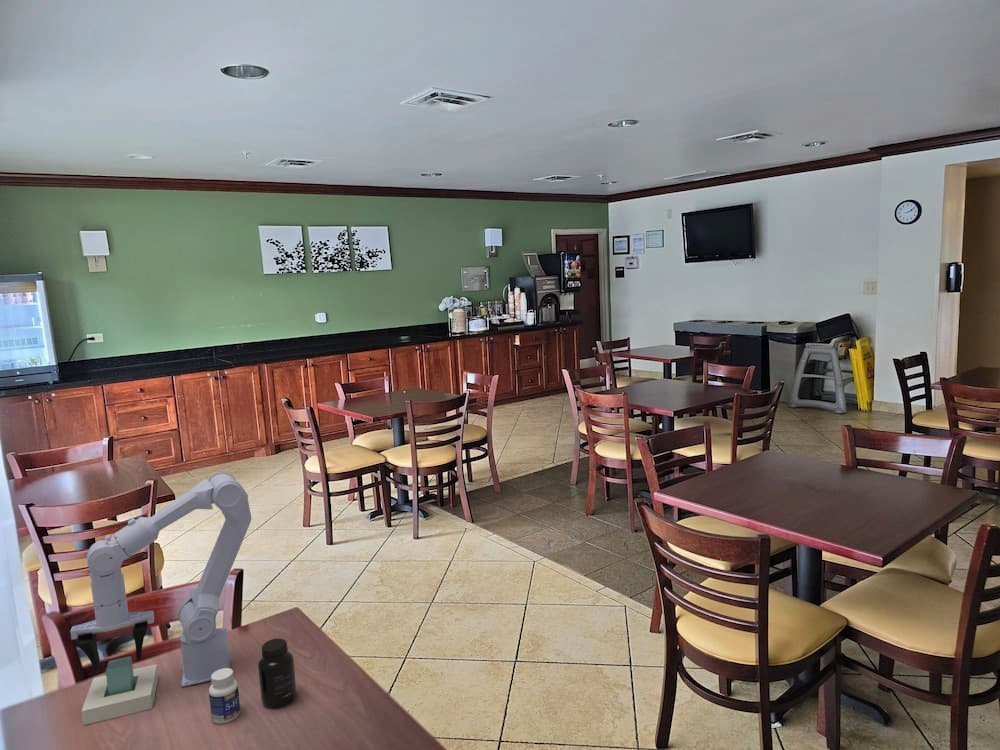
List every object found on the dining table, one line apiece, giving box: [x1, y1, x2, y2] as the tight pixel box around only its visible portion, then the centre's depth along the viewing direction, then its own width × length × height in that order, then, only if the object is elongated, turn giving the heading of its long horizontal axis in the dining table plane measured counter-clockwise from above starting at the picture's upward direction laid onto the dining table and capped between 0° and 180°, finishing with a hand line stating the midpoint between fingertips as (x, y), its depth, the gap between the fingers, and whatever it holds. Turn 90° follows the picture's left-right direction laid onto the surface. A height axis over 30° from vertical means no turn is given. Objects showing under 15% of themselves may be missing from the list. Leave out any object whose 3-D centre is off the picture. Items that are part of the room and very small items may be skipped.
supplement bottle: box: [257, 637, 297, 710], centre depth 133 cm, size 7×7×12 cm
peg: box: [105, 656, 135, 696], centre depth 135 cm, size 4×4×8 cm
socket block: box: [80, 663, 160, 726], centre depth 136 cm, size 12×12×3 cm
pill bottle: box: [208, 667, 241, 725], centre depth 129 cm, size 5×5×9 cm
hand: (118, 662), depth 135 cm, fingers open, 7 cm apart
